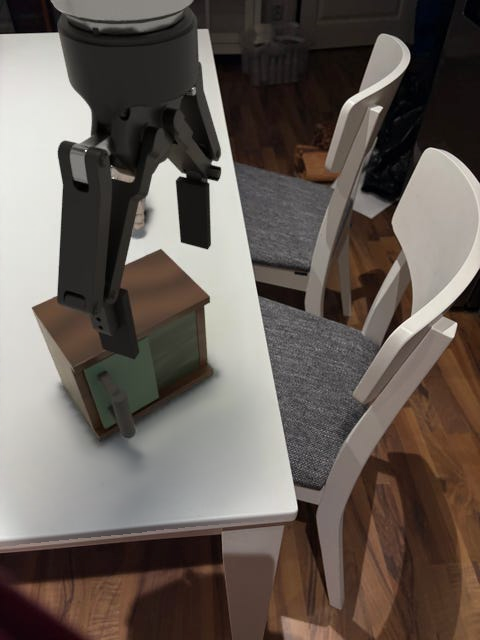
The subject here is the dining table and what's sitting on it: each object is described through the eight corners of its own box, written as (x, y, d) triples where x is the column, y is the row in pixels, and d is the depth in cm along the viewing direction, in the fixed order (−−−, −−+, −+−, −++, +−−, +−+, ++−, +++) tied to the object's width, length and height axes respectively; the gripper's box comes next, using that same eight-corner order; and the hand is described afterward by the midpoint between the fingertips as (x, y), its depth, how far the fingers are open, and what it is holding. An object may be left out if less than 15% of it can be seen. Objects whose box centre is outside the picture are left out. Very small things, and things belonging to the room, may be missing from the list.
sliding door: (179, 422, 61) (170, 362, 52) (123, 456, 58) (105, 399, 49) (156, 394, 63) (145, 333, 55) (102, 425, 60) (81, 366, 52)
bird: (146, 190, 94) (134, 109, 83) (154, 237, 86) (142, 153, 75) (118, 193, 94) (103, 112, 83) (124, 241, 85) (107, 156, 74)
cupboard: (213, 373, 67) (210, 296, 57) (100, 441, 60) (72, 367, 50) (171, 327, 72) (161, 248, 62) (63, 384, 66) (31, 307, 55)
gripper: (48, 126, 19) (128, 428, 35) (268, -41, 35) (255, 218, 51) (-110, 90, 21) (33, 393, 37) (167, -54, 37) (184, 200, 53)
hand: (162, 292), depth 44 cm, fingers open, 13 cm apart
